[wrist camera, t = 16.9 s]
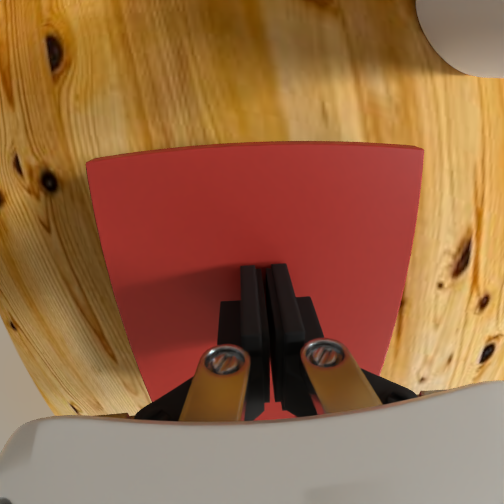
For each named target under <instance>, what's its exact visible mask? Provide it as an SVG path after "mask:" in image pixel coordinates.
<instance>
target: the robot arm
mask: <svg viewBox="0 0 504 504" xmlns="http://www.w3.org/2000/svg"><path fill="white" fill-rule="evenodd" d="M240 285H241V300H237V301H221V302H220V312H219V325H218V337H217V346H213V347H211V348H209V349H208V350H206V351H205V352H204V353H203V354H202V356H201V358H200V360H199V363H198V365H197V368H196V371H195V374H194V376H193V377H191V378H190V379H188V380H187V381H185V382H184V383H182V384H181V385H179V386H178V387H176V388H174V389H173V390H171V391H170V392H168V393H167V394H165V395H163V396H162V397H160V398H159V399H157V400H155V401H154V402H152V403H150V404H149V405H147V406H146V407H144V408H142V409H141V410H140V411H139V412H137V414H136V415H135V416H129V415H128V413H121V414H110V415H97V416H85V415H64V416H52V417H46V418H40V419H36V420H33V421H30V422H27V423H25V424H23V425H22V426H20V427H19V428H18V429H17V430H16V431H15V432H14V433H13V434H12V435H11V437H10V438H9V440H8V441H7V443H6V444H5V446H4V448H3V450H2V451H1V453H0V504H504V381H503V380H496V381H485V382H479V383H474V384H469V385H465V386H461V387H457V388H453V389H449V390H434V391H421V392H420V394H419V395H416V394H415V393H414V392H413V391H411V390H409V389H407V388H405V387H403V386H400V385H398V384H396V383H393V382H391V381H389V380H387V379H384V378H382V377H380V376H377V375H375V374H373V373H371V372H368V371H366V370H364V369H362V368H360V367H359V365H358V364H357V362H356V361H355V359H354V357H353V356H352V354H351V353H350V351H349V349H348V348H347V347H346V346H345V345H344V344H343V343H341V342H340V341H338V340H335V339H331V338H325V337H324V334H323V331H322V328H321V325H320V323H319V320H318V317H317V314H316V311H315V308H314V305H313V302H312V299H311V297H310V296H306V297H296V296H295V292H294V289H293V285H292V282H291V278H290V274H289V271H288V267H287V264H286V263H284V264H271V268H266V302H265V294H264V286H263V279H262V271H261V269H255V265H245V266H240ZM270 364H271V372H272V381H273V390H274V399H275V402H281V406H282V411H286V410H287V411H288V412H290V413H292V414H293V415H295V418H286V419H273V420H258V421H254V420H255V419H256V418H257V417H258V416H259V415H260V414H262V413H263V412H264V411H265V407H264V403H270Z"/></svg>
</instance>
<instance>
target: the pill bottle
mask: <svg viewBox="0 0 504 504" xmlns="http://www.w3.org/2000/svg"><path fill="white" fill-rule="evenodd" d="M416 11H417V16H418V19H419V23H420V25H421V28H422V30H423V32H424V34H425V36H426V38H427V39H428V41H429V43H430V44H431V46H432V47H433V48H434V50H435V51H436V52H437V53H438V54H439V55H440V56H441V57H442V58H443V59H444V60H445V61H446V62H447V63H448V64H449V65H451V66H452V67H454V68H455V69H457V70H458V71H460V72H463V73H465V74H468V75H471V76H477V77H487V78H504V0H416Z"/></svg>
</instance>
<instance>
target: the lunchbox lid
mask: <svg viewBox="0 0 504 504" xmlns="http://www.w3.org/2000/svg"><path fill="white" fill-rule="evenodd" d="M423 159H424V150H423V149H421V148H419V147H416V146H410V145H398V144H383V143H364V142H335V141H276V142H247V143H227V144H212V145H199V146H187V147H177V148H167V149H158V150H150V151H141V152H134V153H126V154H119V155H113V156H106V157H100V158H95V159H92V160H90V161H88V162H86V170H87V177H88V183H89V189H90V194H91V200H92V205H93V210H94V215H95V220H96V225H97V229H98V234H99V238H100V242H101V247H102V251H103V255H104V259H105V263H106V267H107V271H108V274H109V278H110V282H111V285H112V289H113V292H114V296H115V299H116V303H117V306H118V309H119V312H120V316H121V319H122V322H123V325H124V328H125V331H126V334H127V337H128V340H129V343H130V346H131V349H132V352H133V354H134V357H135V360H136V363H137V365H138V368H139V371H140V373H141V376H142V378H143V381H144V384H145V386H146V389H147V391H148V393H149V396H150V398H151V401H152V402H154V401H155V400H157V399H159V398H160V397H162V396H163V395H165V394H167V393H168V392H170V391H171V390H173V389H174V388H176V387H178V386H179V385H181V384H182V383H184V382H185V381H187V380H188V379H190V378H191V377H193V376H194V374H195V371H196V368H197V365H198V363H199V360H200V358H201V356H202V354H203V353H204V352H205V351H206V350H208V349H209V348H211V347H213V346H217V337H218V325H219V312H220V302H221V301H237V300H241V285H240V266H245V265H255V269H261V271H262V279H263V286H264V294H265V302H266V268H271V264H284V263H286V264H287V267H288V271H289V274H290V278H291V282H292V285H293V289H294V292H295V296H296V297H306V296H310V297H311V299H312V302H313V305H314V308H315V311H316V314H317V317H318V320H319V323H320V325H321V328H322V331H323V334H324V337H325V338H331V339H335V340H338V341H340V342H341V343H343V344H344V345H345V346H346V347H347V348H348V349H349V351H350V353H351V354H352V356H353V357H354V359H355V361H356V362H357V364H358V365H359V367H360V368H362V369H364V370H366V371H368V372H371V373H373V374H375V375H377V376H380V373H381V370H382V367H383V364H384V361H385V357H386V354H387V351H388V347H389V344H390V340H391V337H392V333H393V330H394V326H395V322H396V318H397V314H398V310H399V306H400V302H401V298H402V294H403V289H404V285H405V280H406V276H407V271H408V266H409V261H410V256H411V250H412V245H413V239H414V233H415V227H416V220H417V213H418V206H419V198H420V190H421V180H422V170H423ZM264 407H265V411H264V412H263V413H262V414H260V415H259V416H258V417H257V418H256V419H255V420H254V421H258V420H273V419H286V418H295V415H293V414H292V413H290V412H288V411H287V410H286V411H282V406H281V402H275V399H274V390H273V381H272V372H271V364H270V403H264Z"/></svg>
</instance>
